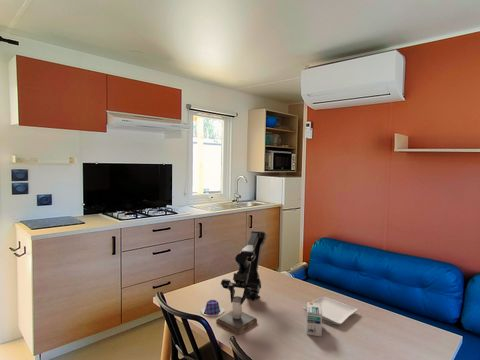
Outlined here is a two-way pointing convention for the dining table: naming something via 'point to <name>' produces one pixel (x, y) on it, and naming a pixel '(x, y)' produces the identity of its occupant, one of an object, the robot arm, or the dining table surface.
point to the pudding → (212, 308)
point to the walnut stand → (236, 322)
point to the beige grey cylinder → (237, 307)
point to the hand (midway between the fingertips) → (236, 303)
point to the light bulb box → (314, 319)
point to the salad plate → (334, 310)
